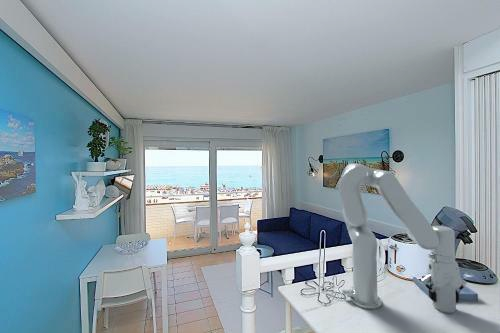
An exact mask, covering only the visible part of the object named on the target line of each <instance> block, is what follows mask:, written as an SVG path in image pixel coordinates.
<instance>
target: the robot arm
mask: <svg viewBox="0 0 500 333" xmlns="http://www.w3.org/2000/svg"><path fill="white" fill-rule="evenodd" d="M362 185H364V186H367V187H371V188H375V189H377V191H378V193H379V194H380V195H381V197H382V198H383V200H384V201H385V203H386V205H387V206H388V207H389V210H391V211H392V213H393V214H394V215H395V216H396V217H397V218H398V219H400V221H401V222H402V223H403V224H404V225H405V226H406V227H407V229H406V234H407V236H408V237H409V239H410V240H411V241H412V242H414V243H415V244H416V245H418V246H419V247H420V248H422V249H424V250H430V254H429V253H428V254H427V257H428V258H429V260H428V264H427V267H428V268H427V276H425V277H424V278H422V279H421V282H422V283H423V284H424V285H425V286H426V287H427V288H428V289H429V297H428V298H429V299H430V300H431V301H434V302H436V292H434V291H435V290H436V287H437V288H441V287H443V286H445V285H446V284H445V283H448V284H451V285H452V286H454V287H455V288H456V304H457V303H459V302H460V301H459V293H460V292H461V290H462V289H463V288H464V286H467V283H468V282H467V281H466V280H465V279H463V278H461V271H460V268H459V267H460V266H459V264H458V261H456V252H455V251H456V250H455V249H456V246H455V244H456V243H455V241H456V240H455V239H456V238H455V235H456V234H455V231H454V229H453V228H451V227H449V226H445V225H431V223H430V222H429V220H428V219H427V218H426V216H425V215H424V214H423V212H421V210H420V209H419V208H418V206H417V205H416V204H415V203H414V202H413V201H412V200H411V198H410V196H409V195H408V194H407V192H406V190H405V189H404V187H403V185H402V184H401V183H400V181H399V180H398V179H397V177H396V176H395V175H394V174H393V173H392V172H391V171H388V170H384V169H378V168H373V167H369V166H366V165H363V164H361V163H355V162H354V163H350V164H348V165H347V166H345V168H344V173H343V175H342V176H341V178H340V180H339V184H338V192H339V197H340V202H341V205H342V212H341V213H342V217H343V219H344V223H345V225H346V226H345V227H346V229H347V231H348V232H347V233H348V234H349V235H348V236H349V237H350V240H351V241H350V242H352V243H351V244H352V254H351V255H352V260H351V261H352V262H351V263H352V281H353V284H352V285H353V286H351V288H349V289H342V290H341V292H342V293H341V294H342V295H346V297H347V298H349V300H350V301H351V302H352V303H353V305H356V306H358V307H360V308H362V309H366V310H367V309H368V310H376V309H379V308H380V307H382V305H383V301H382V298H381V297H380V296H379V295H378V271H377V270H378V264H377V260H378V259H377V255H378V240H377V237H376V236H375V234H374V233H373V231H372V230H371V229H370V226H369V224H368V217H369V216H368V212H367V210H366V206H365V204H364V200H363V197H362V193H361V187H362ZM427 281H429V282H430V283H429V285H428V284H427ZM431 287H432V288H431Z"/></svg>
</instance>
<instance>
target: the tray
mask: <svg viewBox="0 0 500 333" xmlns="http://www.w3.org/2000/svg"><path fill="white" fill-rule="evenodd" d="M425 275H426V274H425ZM427 275H428V274H427ZM427 275H426V276H427ZM424 277H425V276H422V278H424ZM413 282H414V283H415V284H416V285H417V286H418V287H419V288H418V287H417V286H416V285H415V284H414V283H413ZM413 282H412V283H413V284H414V285H415V286H416V287H417V288H418V289H419V290H421V292H423V294H425V295H426V296H427V297H428V298H429V289H428V288H427V287H426V286H425V285H424V284H423V283H422V282H421V281H420V280H419V279H417V278H416V277H413ZM429 283H430V282H429V281H427V284H428V285H429ZM431 288H432V287H431ZM461 301H464V302H479V294H478V293H477V292H475V290H473V289H471V288H470V287H468V286H467V285H465V286H464V288H463V289H462V290H461V292H460V293H459V302H461Z"/></svg>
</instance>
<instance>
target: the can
mask: <svg viewBox="0 0 500 333" xmlns="http://www.w3.org/2000/svg"><path fill="white" fill-rule="evenodd" d="M445 284H446V285H445V286H443V287H441V288H437V287H436V290H435V291H434V292H436V302H434V301H432V300H431V301H432V305H433V307H434V308H435V309H436V310H438V311H440V312H442V313H445V314H452V313H455V312H456V311H457V302H456V288H455V287H454V286H452V285H451V284H448V283H445Z"/></svg>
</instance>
